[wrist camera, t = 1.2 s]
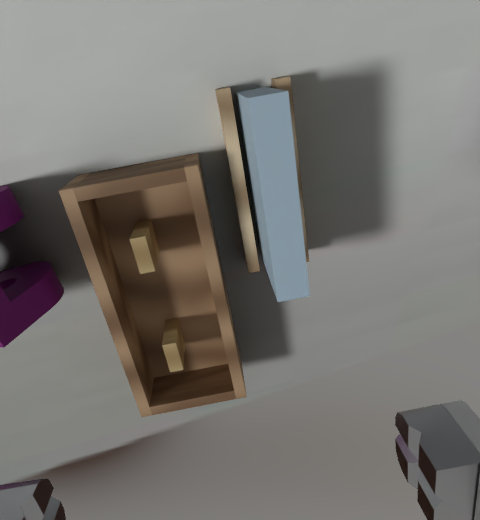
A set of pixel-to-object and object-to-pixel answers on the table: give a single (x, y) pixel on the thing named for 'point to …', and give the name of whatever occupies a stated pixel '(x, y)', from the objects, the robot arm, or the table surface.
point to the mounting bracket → (23, 282)
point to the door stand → (238, 172)
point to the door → (274, 188)
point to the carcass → (159, 280)
